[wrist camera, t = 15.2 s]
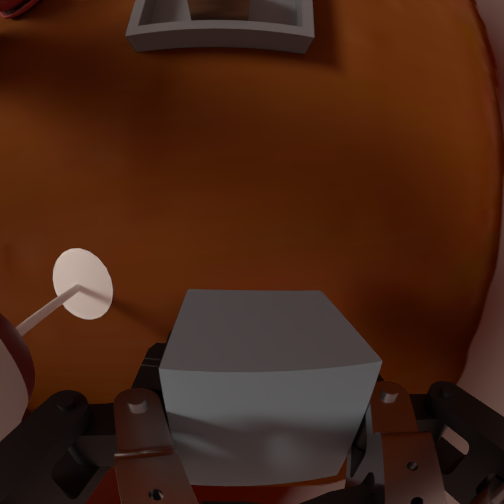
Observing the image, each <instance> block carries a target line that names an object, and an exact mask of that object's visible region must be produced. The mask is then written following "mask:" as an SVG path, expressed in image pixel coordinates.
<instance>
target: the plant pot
mask: <svg viewBox="0 0 504 504" xmlns="http://www.w3.org/2000/svg"><path fill="white" fill-rule="evenodd" d="M38 1H39V0H0V12H1V16H2V17H3V18H6V19H9V18H13V17H16V16H18V15H20V14H22V13H23V12H25V11H27V10H28V9H29V8H31V7H32V6H33V5H35V4H36V3H37V2H38Z"/></svg>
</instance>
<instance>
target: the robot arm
mask: <svg viewBox="0 0 504 504" xmlns="http://www.w3.org/2000/svg"><path fill="white" fill-rule="evenodd" d="M171 333H172V331H171V332H170V333H169V336H168V339H167V341H166V343H156V344H155V345H153V346H152V347H151V348H149V349H148V351H147V353H146V356H145V359H144V360H143V362H142V366H141V367H140V369H139V371H138V374H137V376H136V378H135V380H134V383H133V385H132V387H131V388H130V389H127V390H124V391H122V392H120V393H119V394H118V395H117V396H116V397H115V399H114V402H113V403H108V404H88V402H87V399H86V398H85V396H84V395H82V394H81V393H79V392H77V391H72V390H65V391H60V392H57V393H55V394H53V395H52V396H51V397H49V398H48V399H47V400H46V401H45V402H44V403H43V404H41V405H40V406H39V407H38V408H37V409H36V410H35V411H34V412H32V413H31V414H30V415H29V416H28V417H27V418H26V419H25V420H23V421H22V422H21V423H20V424H19V425H18V426H17V427H16V428H15V429H13V430H12V431H11V432H10V433H9V434H8V435H7V436H6V437H5V438H4V439H2V440H1V441H0V504H85V502H86V501H87V500H88V498H89V497H90V495H91V494H92V492H93V491H94V490H95V488H96V487H97V485H98V483H99V482H100V481H101V479H102V478H103V477H104V475H105V474H106V472H107V471H108V470H109V468H110V467H111V466H115V470H116V476H117V482H118V488H119V493H120V498H121V503H122V504H198V502H197V500H196V497H195V495H194V492H193V490H192V488H191V485H190V483H189V480H188V478H187V475H186V473H185V470H184V467H183V465H182V462H181V459H180V456H179V454H178V451H177V449H176V447H174V444H173V441H172V436H171V432H170V427H169V423H168V418H167V413H166V408H165V403H164V397H163V392H162V386H161V380H160V374H159V366H160V364H161V361H162V358H163V355H164V352H165V350H166V347H167V344H168V341H169V338H170V336H171ZM447 427H450V428H451V429H452V430H454V431H455V432H456V433H457V434H459V435H460V436H461V437H462V438H464V439H465V440H466V441H467V442H468V444H469V452H468V454H467V455H464V454H463V453H461V452H460V451H459V450H458V449H456V448H455V447H454V446H452V445H451V444H450V443H449V442H448V441H446V440H445V439H444V438H443V437H442V435H443V434H444V432H445V430H446V429H447ZM66 451H67V452H66ZM59 459H60V460H59ZM445 491H447V492H448V493H449V494H450V495H451V496H452V497H453V498H454V499H455V500H457V501H458V502H459V503H460V504H504V417H503V416H501V415H500V414H499V413H497V412H496V411H494V410H493V409H491V408H489V407H488V406H487V405H485V404H484V403H482V402H481V401H479V400H478V399H476V398H475V397H473V396H472V395H470V394H469V393H467V392H466V391H464V390H462V389H461V388H460V387H458V386H457V385H455V384H453V383H450V382H446V381H439V382H435V383H433V384H432V385H431V386H430V388H429V391H428V393H427V394H409V393H408V391H407V389H406V388H405V387H403V386H402V385H400V384H398V383H396V382H392V381H384V379H383V378H382V377H381V376H380V374H378V377H377V380H376V383H375V386H374V389H373V392H372V395H371V398H370V400H369V403H368V406H367V409H366V411H365V414H364V416H363V419H362V421H361V424H360V426H359V429H358V431H357V433H356V436H355V438H354V440H353V443H352V445H351V447H350V449H349V451H348V454H347V471H346V483H345V488H344V489H340V490H336V491H331V492H328V493H326V494H323V495H321V496H318V497H316V498H313V499H311V500H308V501H305V502H303V503H300V504H447V501H446V495H445ZM202 504H258V503H251V502H245V501H244V502H221V501H202Z"/></svg>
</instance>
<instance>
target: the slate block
mask: <svg viewBox="0 0 504 504" xmlns="http://www.w3.org/2000/svg"><path fill="white" fill-rule="evenodd" d="M381 364H382V360H381V359H380V358H379V356H378V355H377V354H376V353H375V352H374V351H373V349H372V348H371V347H370V346H369V345H368V344H367V342H366V341H365V340H364V339H363V338H362V337H361V335H360V334H359V333H358V332H357V331H356V330H355V329H354V327H353V326H352V325H351V324H350V323H349V322H348V321H347V319H346V318H345V317H344V316H343V315H342V314H341V313H340V311H339V310H338V309H337V308H336V307H335V306H334V305H333V303H332V302H331V301H330V300H329V299H328V298H327V297H326V296H325V294H324V293H323V292H322V291H245V290H201V289H188V291H187V294H186V296H185V299H184V301H183V304H182V306H181V309H180V312H179V314H178V317H177V320H176V322H175V325H174V328H173V330H172V333H171V336H170V338H169V341H168V344H167V347H166V350H165V352H164V355H163V358H162V361H161V364H160V366H159V374H160V380H161V386H162V392H163V397H164V403H165V408H166V413H167V418H168V423H169V427H170V432H171V436H172V441H173V444H174V447H176V449H177V451H178V454H179V456H180V459H181V462H182V465H183V467H184V470H185V473H186V475H187V478H188V480H189V483H190V484H193V485H210V486H252V485H269V484H281V483H290V482H298V481H306V480H312V479H318V478H324V477H329V476H334V475H337V474H338V472H339V470H340V468H341V466H342V464H343V462H344V460H345V458H346V456H347V454H348V451H349V449H350V447H351V445H352V443H353V440H354V438H355V436H356V433H357V431H358V429H359V426H360V424H361V421H362V419H363V416H364V414H365V411H366V409H367V406H368V403H369V400H370V398H371V395H372V392H373V389H374V386H375V383H376V380H377V377H378V374H379V371H380V368H381Z"/></svg>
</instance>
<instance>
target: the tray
mask: <svg viewBox="0 0 504 504" xmlns="http://www.w3.org/2000/svg"><path fill="white" fill-rule="evenodd" d="M125 37H126V38H127V40H128V41H129V42H130V44H131V45H132V47H133V48H134V50H135V51H136V52H142V51H150V50H159V49H171V48H188V47H238V48H255V49H267V50H277V51H285V52H293V53H300V54H305V53H306V51H307V49H308V48H309V46H310V44H311V43H312V41H313V39H314V17H313V2H312V0H251V2H250V9H249V17H248V21H240V20H193V21H191V16H190V11H189V7H188V2H187V0H136V1H135V4H134V7H133V10H132V14H131V17H130V20H129V24H128V27H127V31H126V35H125Z"/></svg>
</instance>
